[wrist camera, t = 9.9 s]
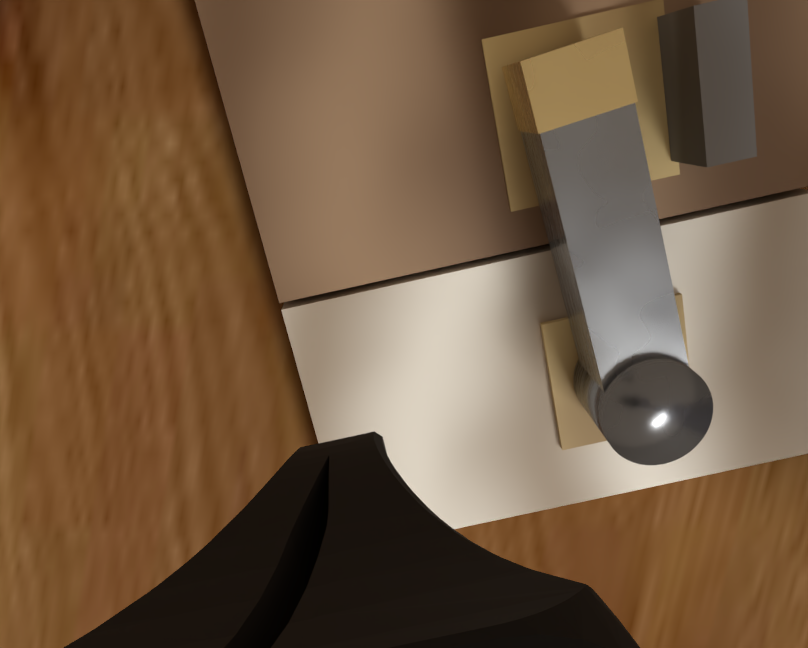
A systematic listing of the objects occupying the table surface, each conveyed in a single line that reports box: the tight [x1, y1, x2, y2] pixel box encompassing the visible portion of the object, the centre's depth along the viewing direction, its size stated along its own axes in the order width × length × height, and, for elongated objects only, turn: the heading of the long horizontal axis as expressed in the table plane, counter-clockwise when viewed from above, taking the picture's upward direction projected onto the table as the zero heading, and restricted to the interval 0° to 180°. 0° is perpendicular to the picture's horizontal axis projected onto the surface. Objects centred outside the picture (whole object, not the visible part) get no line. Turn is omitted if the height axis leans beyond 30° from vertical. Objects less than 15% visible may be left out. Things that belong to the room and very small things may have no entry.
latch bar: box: [502, 28, 713, 465], centre depth 18 cm, size 10×3×3 cm, turn 17°
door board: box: [195, 0, 808, 529], centre depth 19 cm, size 15×17×3 cm
